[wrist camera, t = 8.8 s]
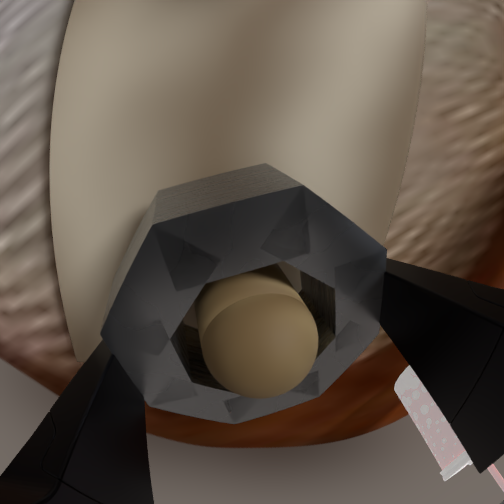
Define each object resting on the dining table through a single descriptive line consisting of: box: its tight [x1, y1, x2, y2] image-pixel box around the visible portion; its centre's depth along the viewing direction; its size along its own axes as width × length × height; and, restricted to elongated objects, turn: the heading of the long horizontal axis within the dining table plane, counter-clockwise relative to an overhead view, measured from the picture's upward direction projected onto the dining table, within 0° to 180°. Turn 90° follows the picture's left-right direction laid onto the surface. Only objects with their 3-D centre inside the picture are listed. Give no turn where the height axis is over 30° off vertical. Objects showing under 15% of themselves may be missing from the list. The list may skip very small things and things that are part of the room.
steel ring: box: [100, 163, 387, 424], centre depth 8 cm, size 7×7×2 cm
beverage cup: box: [394, 365, 504, 492], centre depth 13 cm, size 6×6×14 cm
